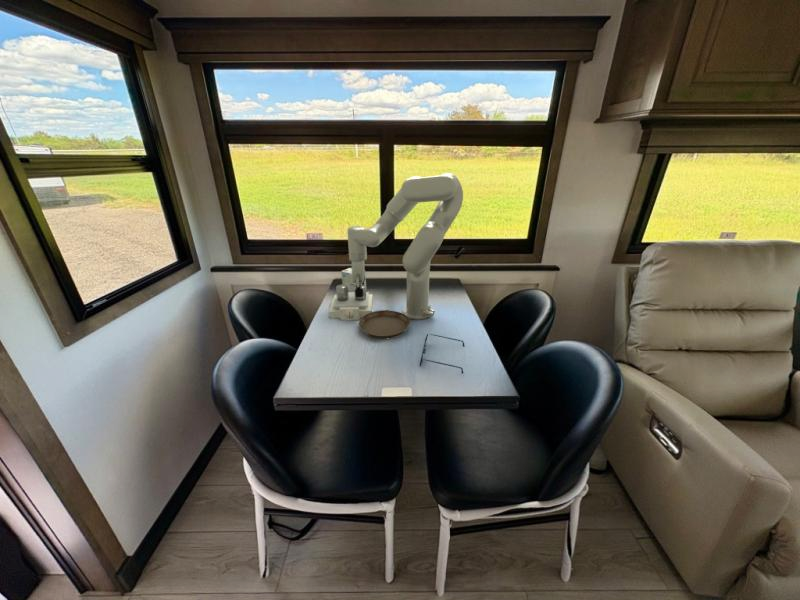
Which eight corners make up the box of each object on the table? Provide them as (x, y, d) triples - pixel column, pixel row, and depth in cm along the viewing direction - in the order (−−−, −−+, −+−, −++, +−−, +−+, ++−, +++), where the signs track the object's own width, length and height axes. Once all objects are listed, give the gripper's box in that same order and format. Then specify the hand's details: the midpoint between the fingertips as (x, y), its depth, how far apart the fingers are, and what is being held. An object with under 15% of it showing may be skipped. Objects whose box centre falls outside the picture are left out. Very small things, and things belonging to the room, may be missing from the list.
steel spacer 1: (351, 298, 150) (350, 286, 147) (342, 302, 146) (341, 289, 144) (343, 295, 153) (342, 283, 150) (334, 299, 149) (333, 286, 147)
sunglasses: (424, 343, 125) (427, 331, 123) (463, 351, 123) (466, 340, 121) (418, 370, 110) (420, 357, 108) (462, 380, 108) (465, 367, 106)
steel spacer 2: (368, 298, 150) (368, 286, 148) (360, 302, 146) (359, 289, 144) (360, 295, 153) (360, 283, 151) (352, 298, 150) (351, 286, 147)
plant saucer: (404, 344, 124) (404, 337, 122) (352, 339, 128) (351, 331, 126) (413, 319, 142) (414, 312, 141) (367, 315, 146) (367, 308, 144)
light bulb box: (366, 290, 171) (365, 270, 166) (358, 294, 166) (357, 274, 161) (350, 286, 176) (349, 267, 172) (342, 290, 171) (340, 270, 166)
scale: (372, 299, 160) (372, 290, 158) (371, 319, 141) (370, 309, 139) (335, 300, 160) (334, 290, 157) (328, 320, 141) (327, 310, 139)
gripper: (351, 250, 149) (353, 285, 156) (347, 262, 133) (349, 300, 141) (367, 250, 149) (369, 285, 157) (365, 261, 134) (367, 300, 141)
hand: (360, 292), depth 149 cm, fingers open, 9 cm apart
